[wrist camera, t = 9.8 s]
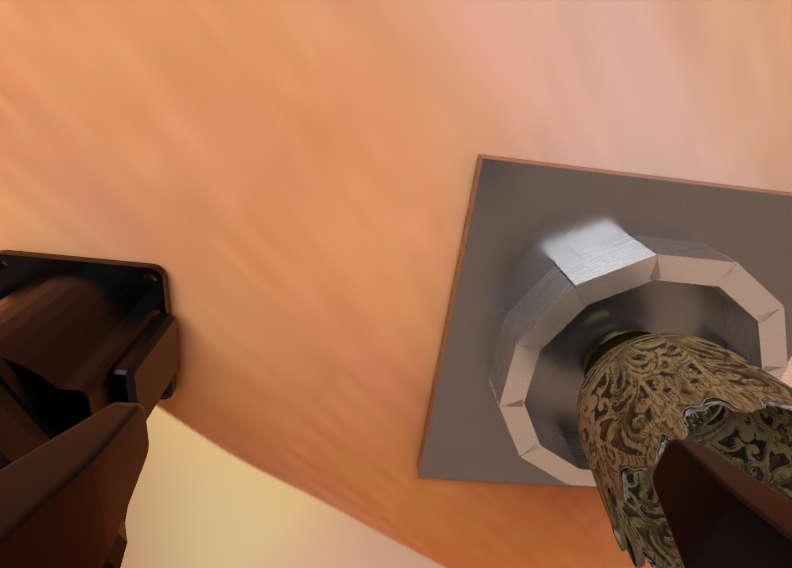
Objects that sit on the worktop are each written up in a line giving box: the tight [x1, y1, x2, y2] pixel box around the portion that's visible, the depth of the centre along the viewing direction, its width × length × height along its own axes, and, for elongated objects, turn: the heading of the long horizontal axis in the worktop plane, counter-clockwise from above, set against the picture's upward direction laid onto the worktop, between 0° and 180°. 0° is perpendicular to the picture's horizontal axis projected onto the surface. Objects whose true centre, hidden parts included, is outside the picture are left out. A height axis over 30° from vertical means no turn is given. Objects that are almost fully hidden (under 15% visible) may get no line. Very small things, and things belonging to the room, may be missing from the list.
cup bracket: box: [417, 154, 792, 488], centre depth 21 cm, size 16×16×3 cm
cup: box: [577, 328, 792, 568], centre depth 18 cm, size 8×7×8 cm
